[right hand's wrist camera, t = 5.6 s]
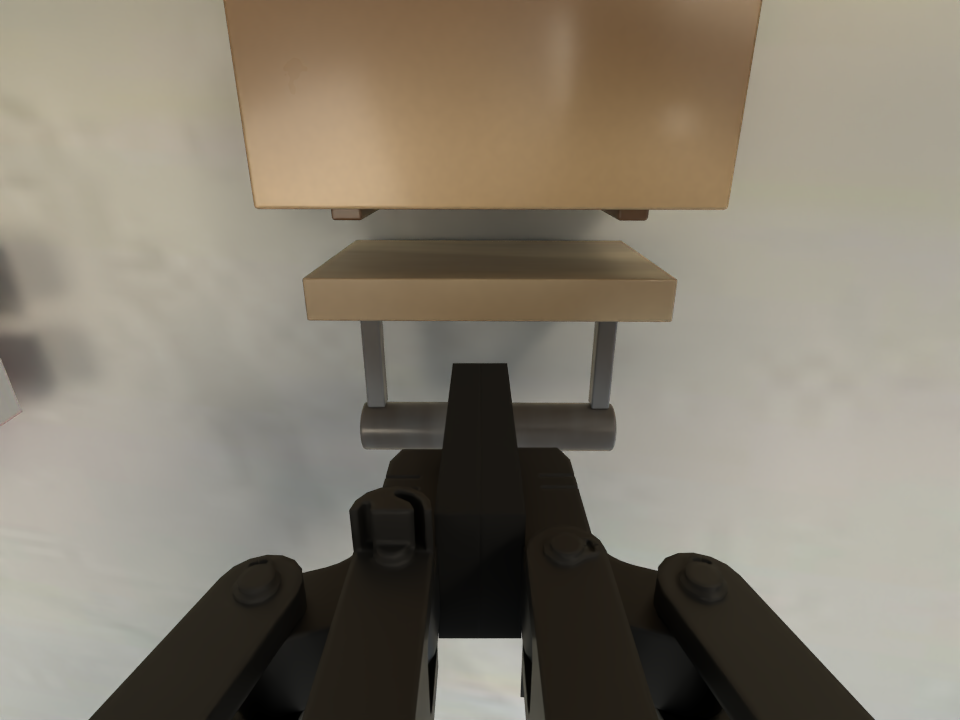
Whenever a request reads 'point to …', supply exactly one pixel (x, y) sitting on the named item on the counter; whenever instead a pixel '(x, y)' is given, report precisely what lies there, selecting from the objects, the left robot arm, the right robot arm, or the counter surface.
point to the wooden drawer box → (492, 102)
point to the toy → (7, 398)
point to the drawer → (489, 318)
